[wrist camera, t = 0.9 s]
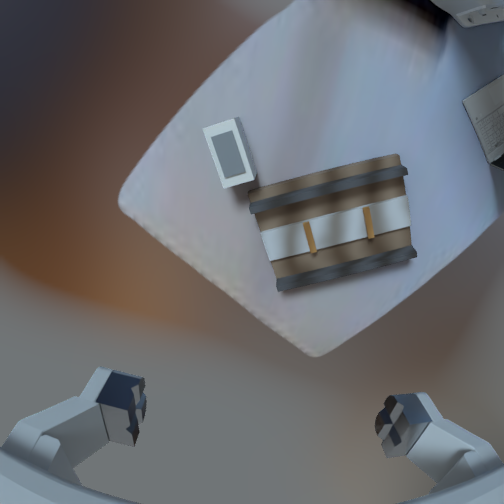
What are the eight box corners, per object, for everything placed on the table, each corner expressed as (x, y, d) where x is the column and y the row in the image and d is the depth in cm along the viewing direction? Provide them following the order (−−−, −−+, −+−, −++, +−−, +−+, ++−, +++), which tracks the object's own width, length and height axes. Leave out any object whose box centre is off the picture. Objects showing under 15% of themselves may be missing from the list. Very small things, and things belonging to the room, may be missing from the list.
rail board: (395, 153, 42) (405, 158, 38) (409, 253, 49) (417, 264, 46) (248, 190, 47) (245, 198, 44) (280, 285, 55) (280, 298, 51)
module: (239, 116, 42) (233, 118, 37) (257, 172, 46) (254, 180, 41) (210, 125, 43) (202, 128, 38) (229, 179, 47) (223, 189, 42)
